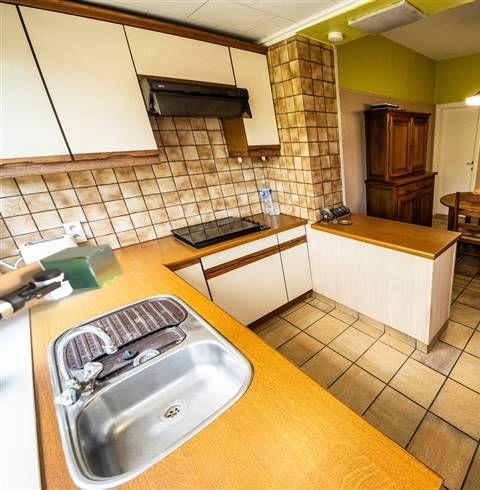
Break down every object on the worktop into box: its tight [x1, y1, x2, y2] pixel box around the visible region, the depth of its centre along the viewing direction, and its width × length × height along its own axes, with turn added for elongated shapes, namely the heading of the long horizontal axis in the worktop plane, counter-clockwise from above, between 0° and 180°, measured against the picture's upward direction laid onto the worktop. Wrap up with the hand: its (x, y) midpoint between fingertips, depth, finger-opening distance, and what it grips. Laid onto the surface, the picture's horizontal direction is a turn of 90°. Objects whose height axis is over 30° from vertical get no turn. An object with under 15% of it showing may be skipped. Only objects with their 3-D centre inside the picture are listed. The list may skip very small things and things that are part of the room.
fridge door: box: [0, 261, 46, 321], centre depth 118 cm, size 6×20×18 cm, turn 177°
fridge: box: [38, 243, 124, 292], centre depth 135 cm, size 15×20×18 cm
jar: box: [32, 268, 73, 301], centre depth 119 cm, size 9×8×12 cm
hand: (59, 277), depth 123 cm, fingers closed on jar, 7 cm apart
